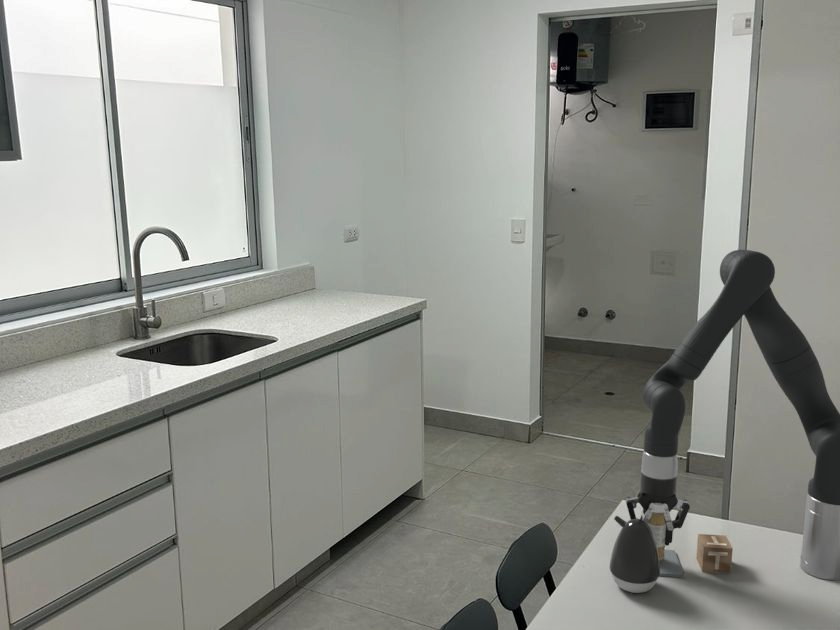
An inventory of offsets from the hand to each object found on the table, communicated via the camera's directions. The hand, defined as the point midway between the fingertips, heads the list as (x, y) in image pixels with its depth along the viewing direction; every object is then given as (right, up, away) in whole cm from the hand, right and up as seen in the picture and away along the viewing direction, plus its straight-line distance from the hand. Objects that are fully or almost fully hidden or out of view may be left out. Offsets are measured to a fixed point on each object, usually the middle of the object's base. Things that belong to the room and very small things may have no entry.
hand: (654, 542), depth 181 cm
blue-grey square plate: (0, -5, +1) cm, 5 cm away
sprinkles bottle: (0, -3, +1) cm, 3 cm away
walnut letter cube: (+13, -5, 0) cm, 14 cm away
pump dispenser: (-7, -7, -8) cm, 13 cm away
